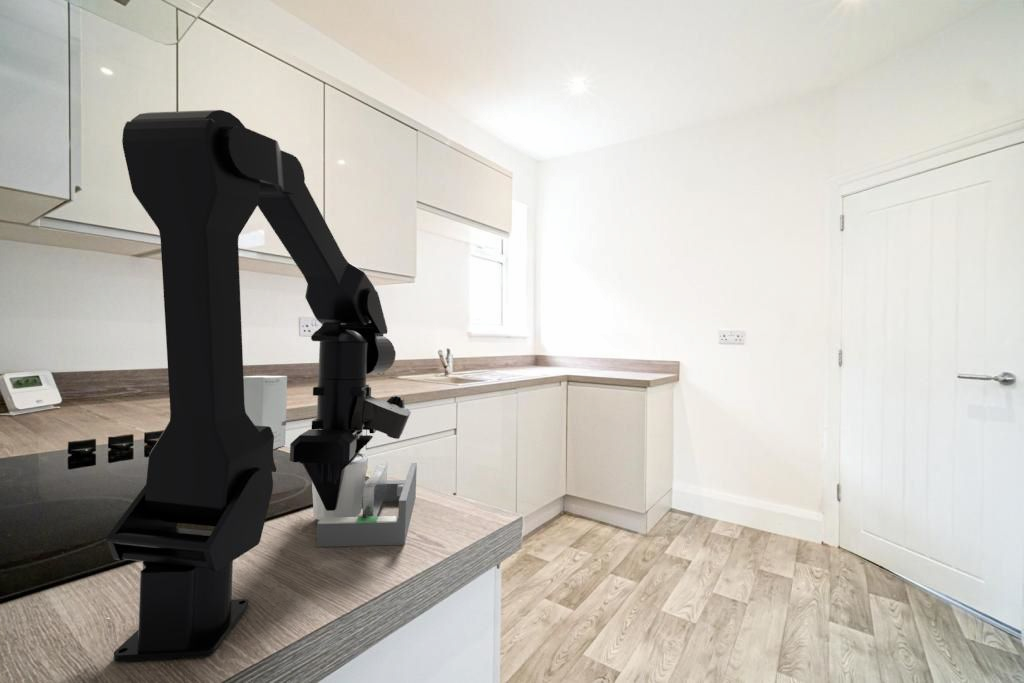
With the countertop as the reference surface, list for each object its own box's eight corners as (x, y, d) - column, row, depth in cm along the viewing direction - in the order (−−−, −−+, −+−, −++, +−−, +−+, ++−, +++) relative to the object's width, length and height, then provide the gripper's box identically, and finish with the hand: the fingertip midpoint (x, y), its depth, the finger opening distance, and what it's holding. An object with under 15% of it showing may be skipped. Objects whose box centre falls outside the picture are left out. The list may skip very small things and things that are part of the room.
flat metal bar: (369, 533, 50) (370, 494, 50) (358, 533, 50) (359, 494, 50) (386, 493, 64) (387, 461, 64) (377, 493, 64) (378, 461, 64)
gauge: (404, 544, 51) (406, 500, 51) (316, 546, 50) (318, 501, 50) (415, 497, 66) (416, 463, 66) (348, 497, 65) (349, 463, 65)
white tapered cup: (346, 526, 53) (349, 467, 53) (295, 519, 55) (298, 461, 55) (375, 506, 60) (378, 454, 60) (329, 500, 62) (331, 449, 62)
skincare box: (260, 455, 87) (263, 377, 87) (231, 453, 87) (234, 376, 87) (286, 445, 95) (289, 374, 95) (259, 443, 96) (262, 373, 96)
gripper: (398, 386, 49) (393, 530, 49) (413, 374, 68) (410, 478, 68) (290, 384, 48) (285, 531, 48) (336, 372, 66) (332, 478, 66)
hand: (338, 500), depth 57 cm, fingers closed on white tapered cup, 6 cm apart
